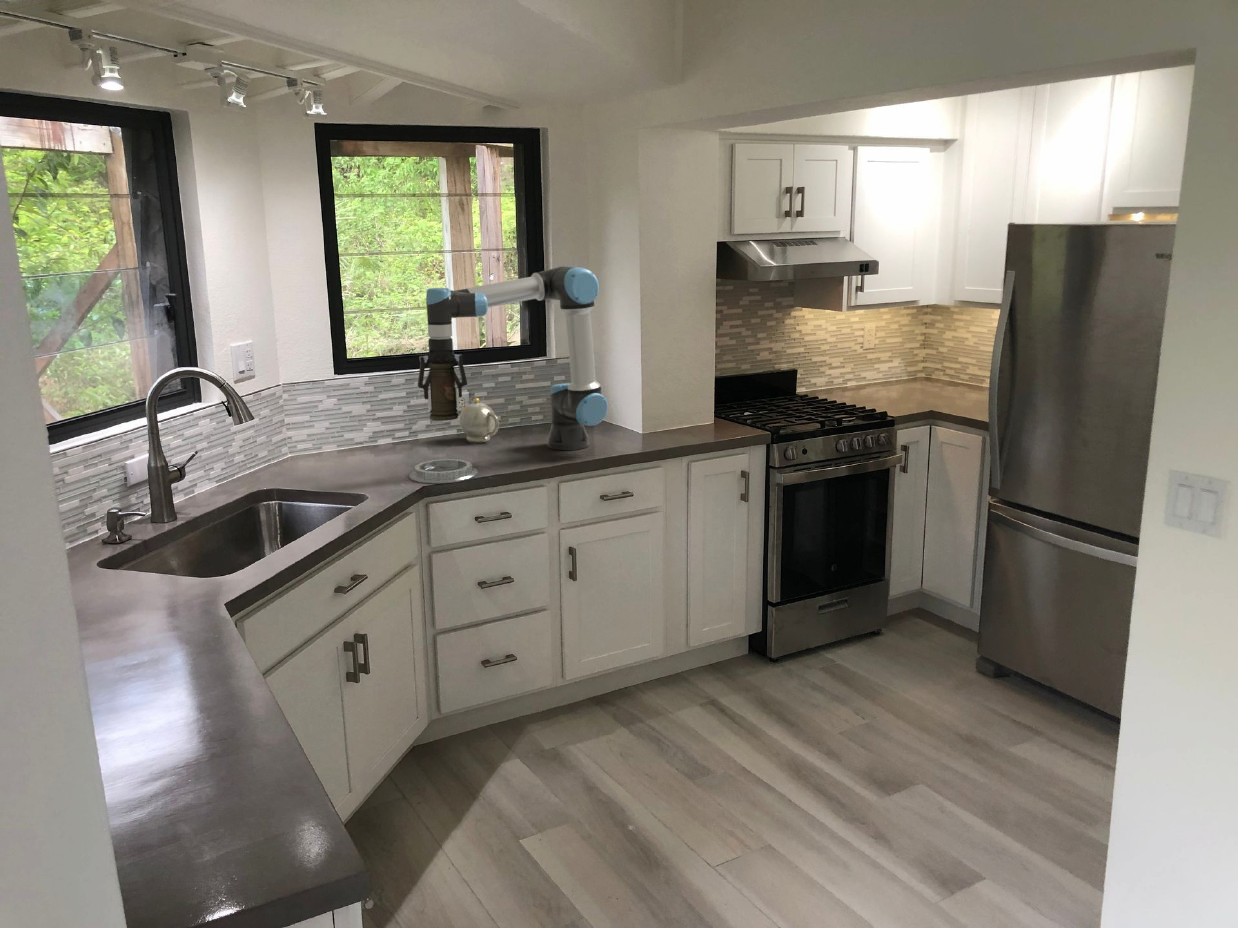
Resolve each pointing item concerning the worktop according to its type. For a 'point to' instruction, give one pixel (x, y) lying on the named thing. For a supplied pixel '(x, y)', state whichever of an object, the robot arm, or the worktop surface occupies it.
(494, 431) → the teapot
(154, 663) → the worktop surface
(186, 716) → the worktop surface
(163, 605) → the worktop surface
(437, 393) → the container
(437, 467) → the flange
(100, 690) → the worktop surface
